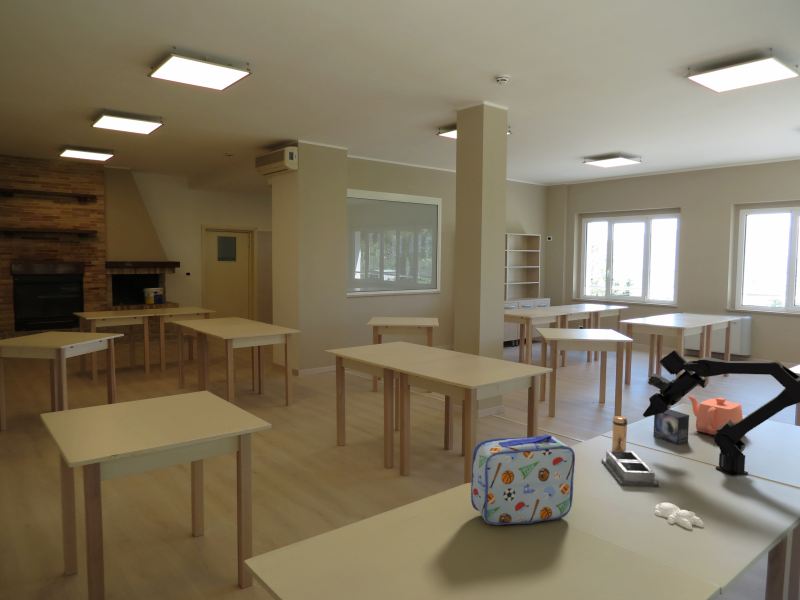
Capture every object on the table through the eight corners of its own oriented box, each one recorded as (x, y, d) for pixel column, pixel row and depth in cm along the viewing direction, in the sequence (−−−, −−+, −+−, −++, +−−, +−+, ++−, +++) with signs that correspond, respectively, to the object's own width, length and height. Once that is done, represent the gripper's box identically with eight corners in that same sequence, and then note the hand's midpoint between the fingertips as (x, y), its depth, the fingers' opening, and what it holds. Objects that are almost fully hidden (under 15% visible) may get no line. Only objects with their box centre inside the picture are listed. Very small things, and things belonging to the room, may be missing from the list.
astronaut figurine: (681, 532, 130) (681, 521, 130) (646, 510, 141) (647, 499, 141) (709, 528, 132) (710, 516, 132) (673, 506, 144) (673, 495, 143)
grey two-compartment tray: (601, 461, 175) (602, 449, 174) (635, 462, 174) (635, 450, 173) (621, 485, 156) (621, 472, 155) (659, 487, 155) (659, 474, 155)
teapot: (694, 420, 220) (696, 388, 219) (747, 431, 205) (749, 397, 204) (673, 429, 208) (675, 395, 206) (728, 443, 193) (730, 406, 192)
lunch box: (558, 501, 145) (560, 424, 144) (580, 519, 136) (583, 437, 134) (467, 513, 138) (468, 433, 136) (483, 533, 128) (485, 446, 126)
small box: (652, 436, 200) (653, 409, 199) (663, 433, 203) (665, 407, 202) (676, 445, 190) (678, 417, 190) (688, 442, 193) (690, 414, 192)
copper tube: (628, 456, 179) (630, 419, 178) (617, 457, 178) (618, 420, 177) (619, 451, 183) (621, 415, 182) (608, 453, 182) (610, 416, 181)
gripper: (671, 363, 185) (638, 390, 193) (655, 371, 171) (621, 400, 179) (696, 387, 180) (662, 414, 188) (682, 398, 166) (646, 426, 174)
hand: (647, 413), depth 183 cm, fingers open, 9 cm apart
